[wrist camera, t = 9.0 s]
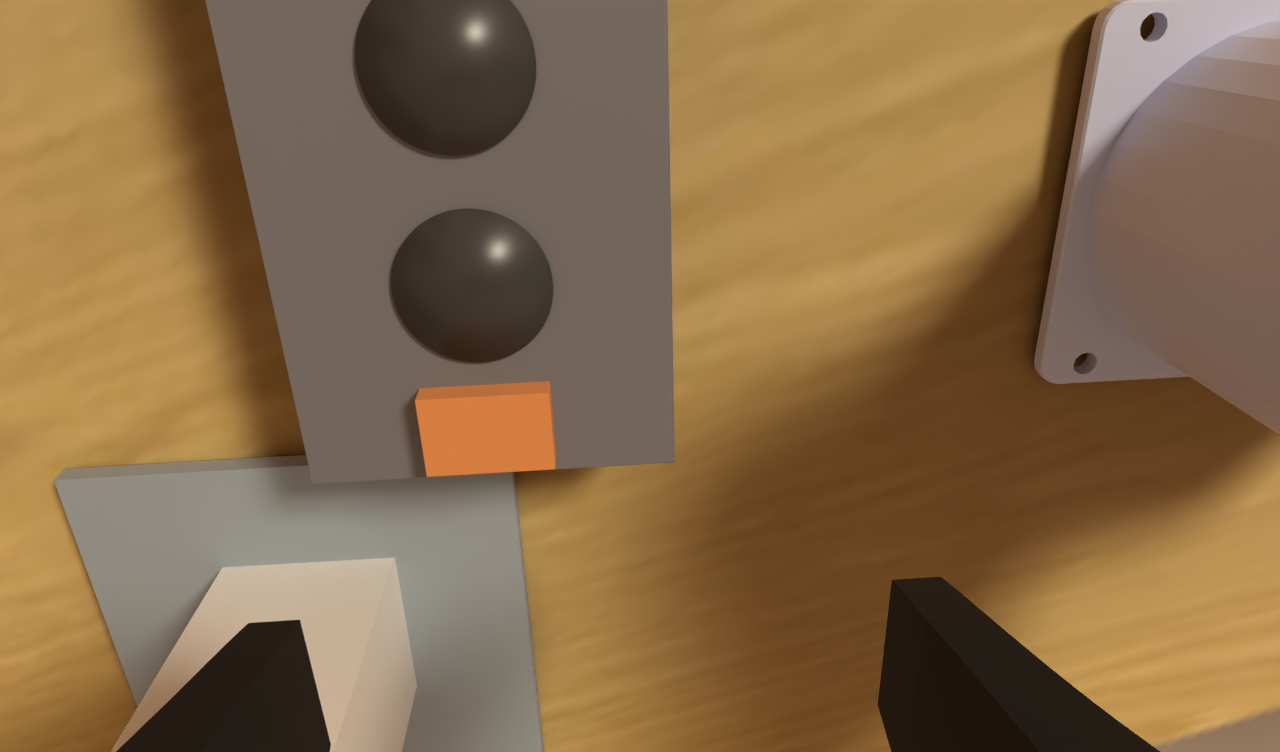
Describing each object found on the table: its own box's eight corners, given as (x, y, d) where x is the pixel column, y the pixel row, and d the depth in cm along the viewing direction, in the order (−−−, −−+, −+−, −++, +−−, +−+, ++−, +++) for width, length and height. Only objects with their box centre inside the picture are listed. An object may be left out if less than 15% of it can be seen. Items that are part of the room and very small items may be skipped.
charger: (395, 557, 20) (325, 777, 15) (417, 685, 22) (361, 926, 16) (221, 567, 20) (85, 794, 15) (257, 695, 22) (146, 943, 16)
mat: (510, 442, 20) (509, 453, 19) (544, 755, 24) (543, 770, 24) (65, 468, 19) (53, 480, 19) (178, 783, 24) (171, 798, 23)
